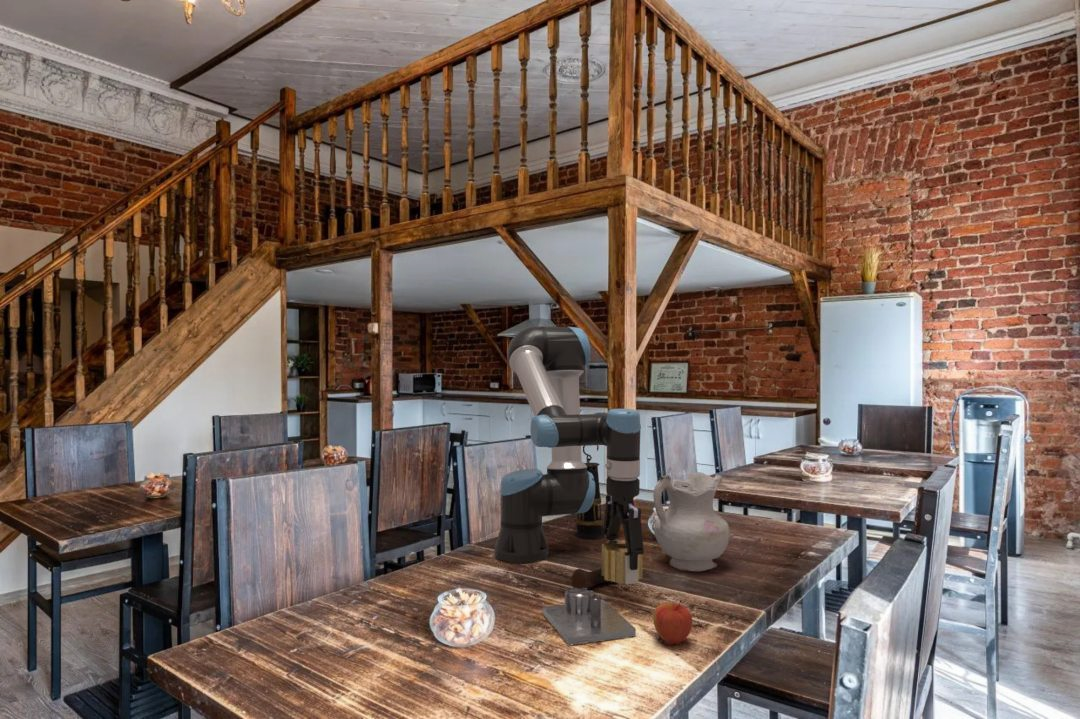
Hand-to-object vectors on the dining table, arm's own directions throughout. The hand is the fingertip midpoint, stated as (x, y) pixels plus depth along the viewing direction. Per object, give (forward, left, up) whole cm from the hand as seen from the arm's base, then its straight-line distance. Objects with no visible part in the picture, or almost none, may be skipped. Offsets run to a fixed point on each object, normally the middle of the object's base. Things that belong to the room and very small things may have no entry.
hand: (621, 575), depth 143 cm
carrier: (+11, -13, -5) cm, 18 cm away
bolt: (-10, -1, -6) cm, 11 cm away
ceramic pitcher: (-16, +27, -6) cm, 32 cm away
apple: (+23, 0, -6) cm, 24 cm away
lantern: (-51, +13, -6) cm, 53 cm away
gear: (0, 0, 0) cm, 0 cm away
